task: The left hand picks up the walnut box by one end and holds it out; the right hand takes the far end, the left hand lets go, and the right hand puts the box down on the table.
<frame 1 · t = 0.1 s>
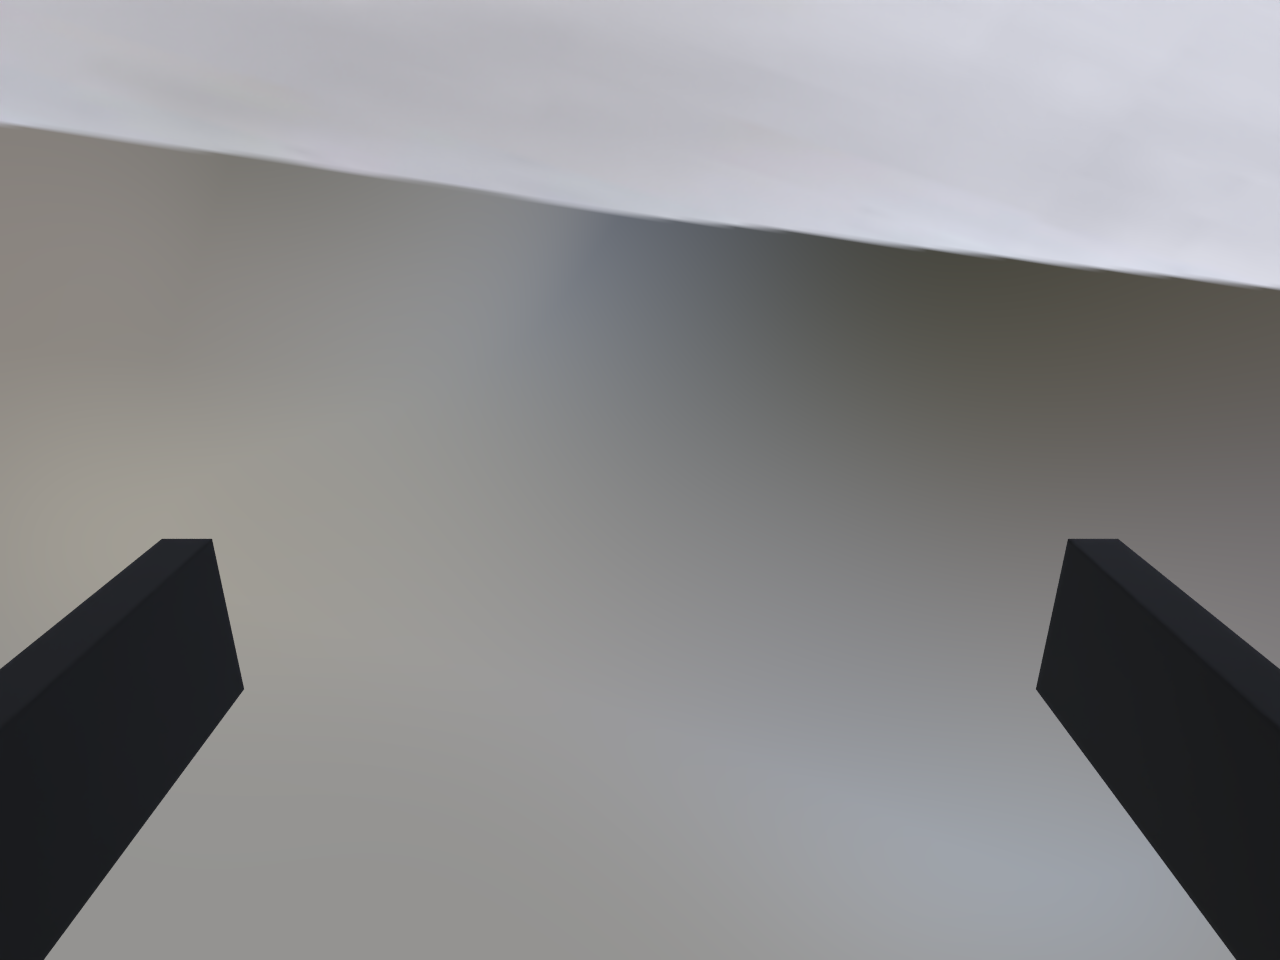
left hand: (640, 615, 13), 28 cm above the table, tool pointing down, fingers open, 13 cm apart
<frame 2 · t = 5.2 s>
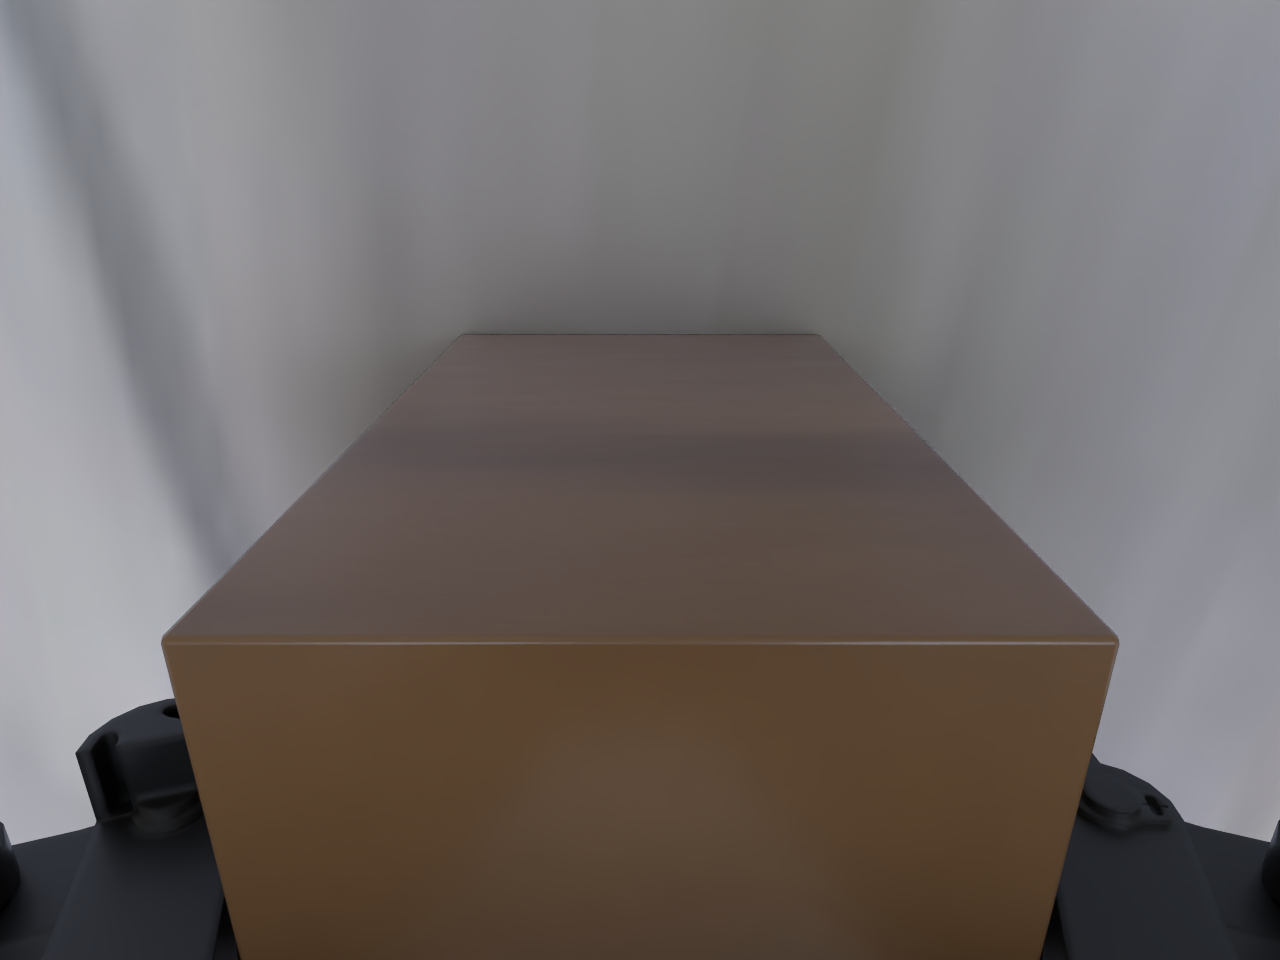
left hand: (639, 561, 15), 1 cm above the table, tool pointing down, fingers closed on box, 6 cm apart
box: (640, 887, 18), on the table, touching left hand
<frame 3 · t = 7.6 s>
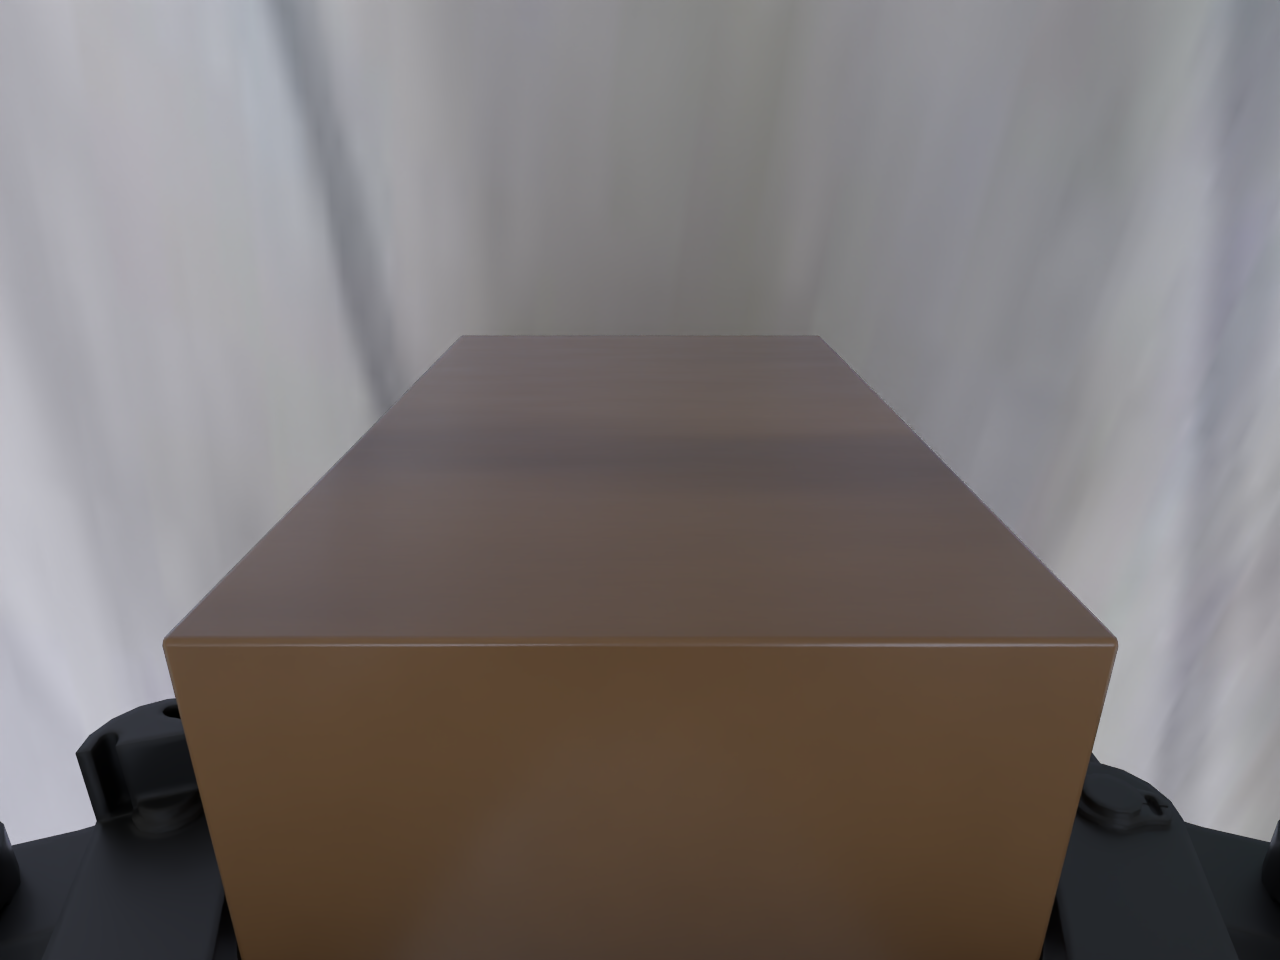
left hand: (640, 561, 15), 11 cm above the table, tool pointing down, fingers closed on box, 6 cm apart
box: (640, 887, 18), point 11 cm above the table, touching left hand
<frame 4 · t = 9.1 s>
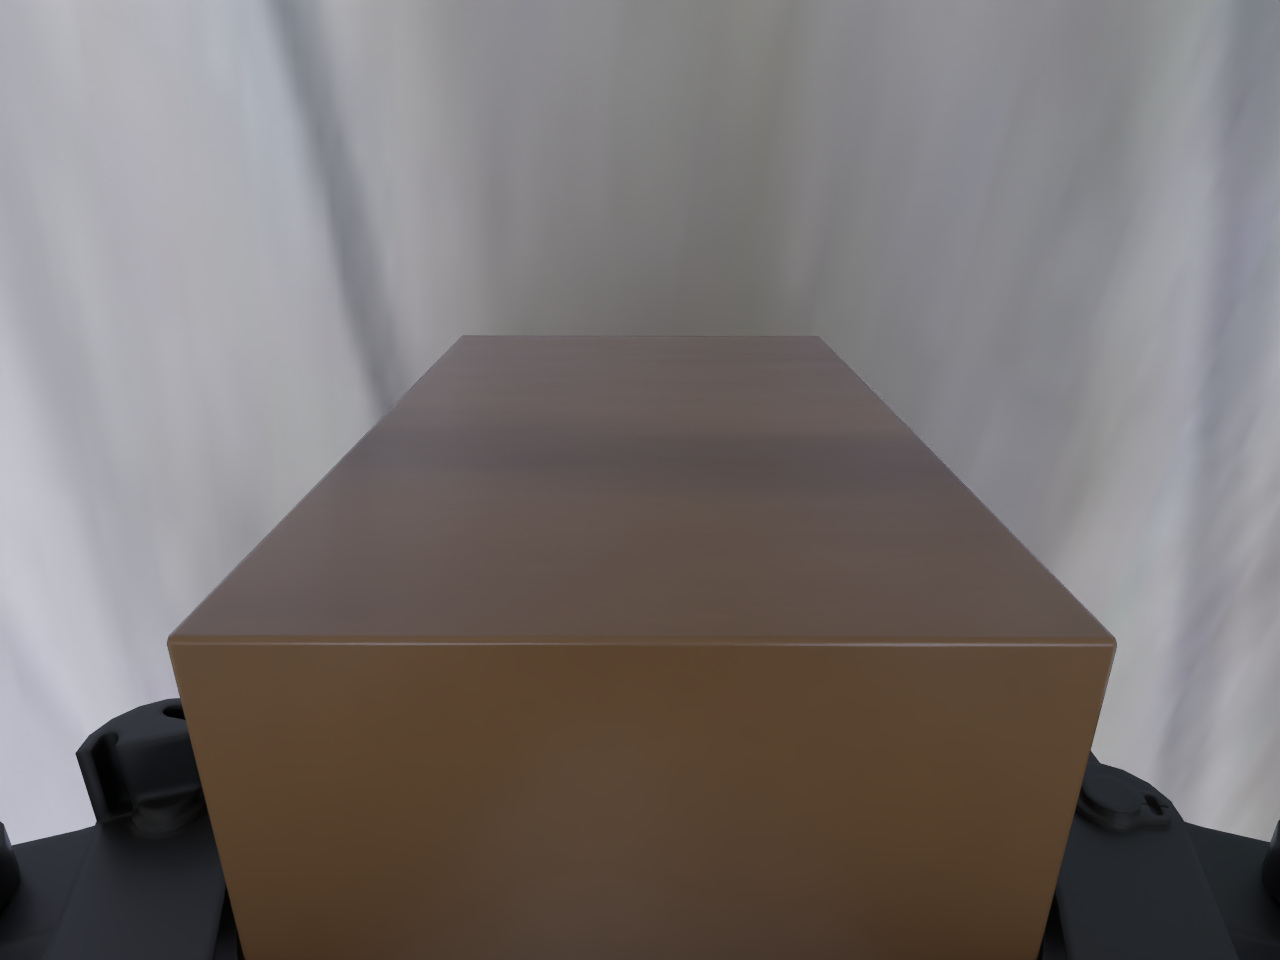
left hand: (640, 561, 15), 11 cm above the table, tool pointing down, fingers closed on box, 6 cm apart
box: (639, 886, 18), point 11 cm above the table, touching left hand, right hand
when the left hand's fingers open (11 cm above the table, at t = 10.1 s): box stays where it is, held by the right hand.
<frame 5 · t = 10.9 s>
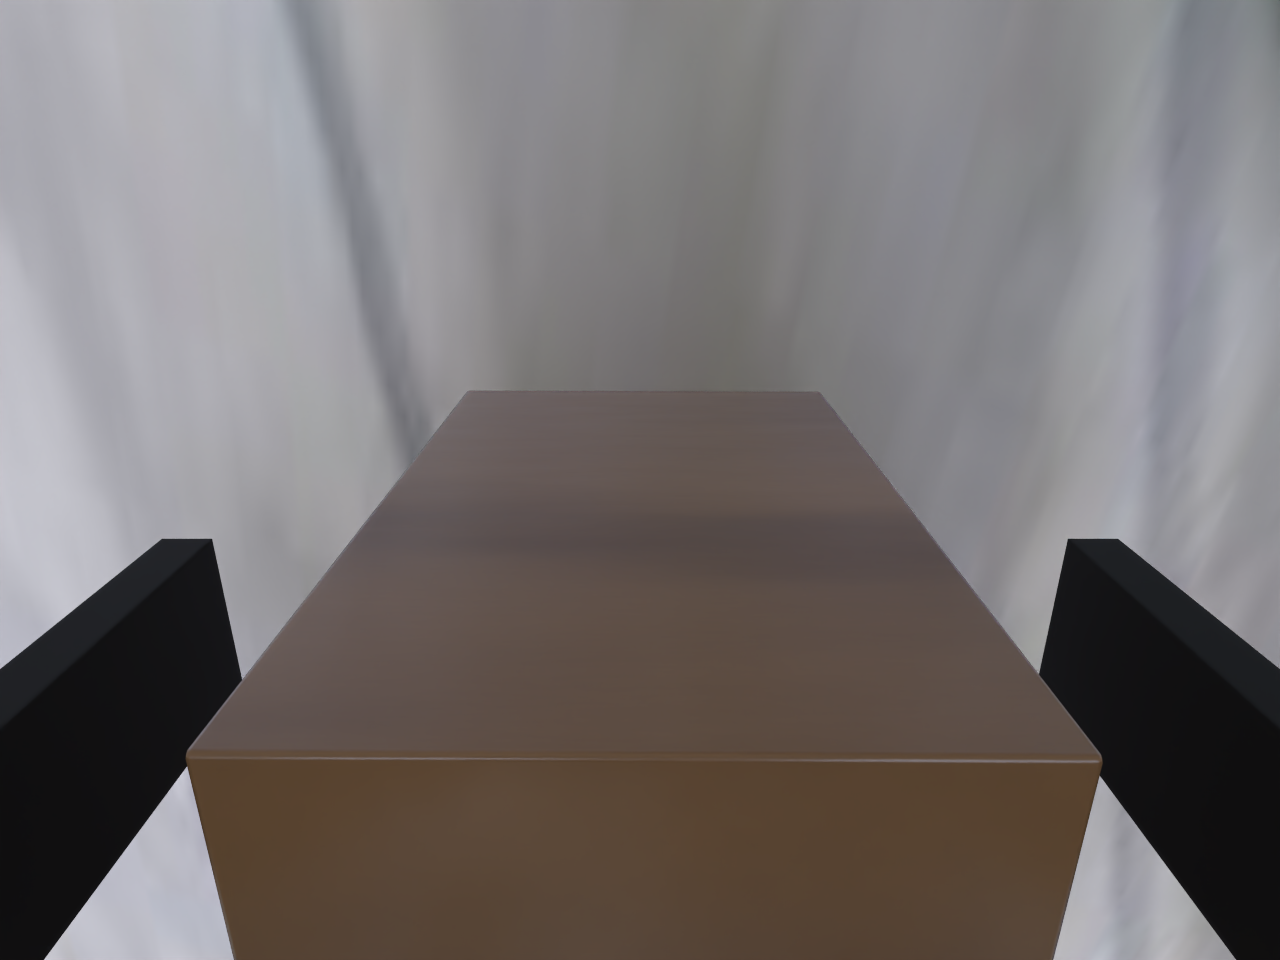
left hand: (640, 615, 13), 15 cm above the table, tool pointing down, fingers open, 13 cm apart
box: (641, 927, 18), point 13 cm above the table, touching right hand
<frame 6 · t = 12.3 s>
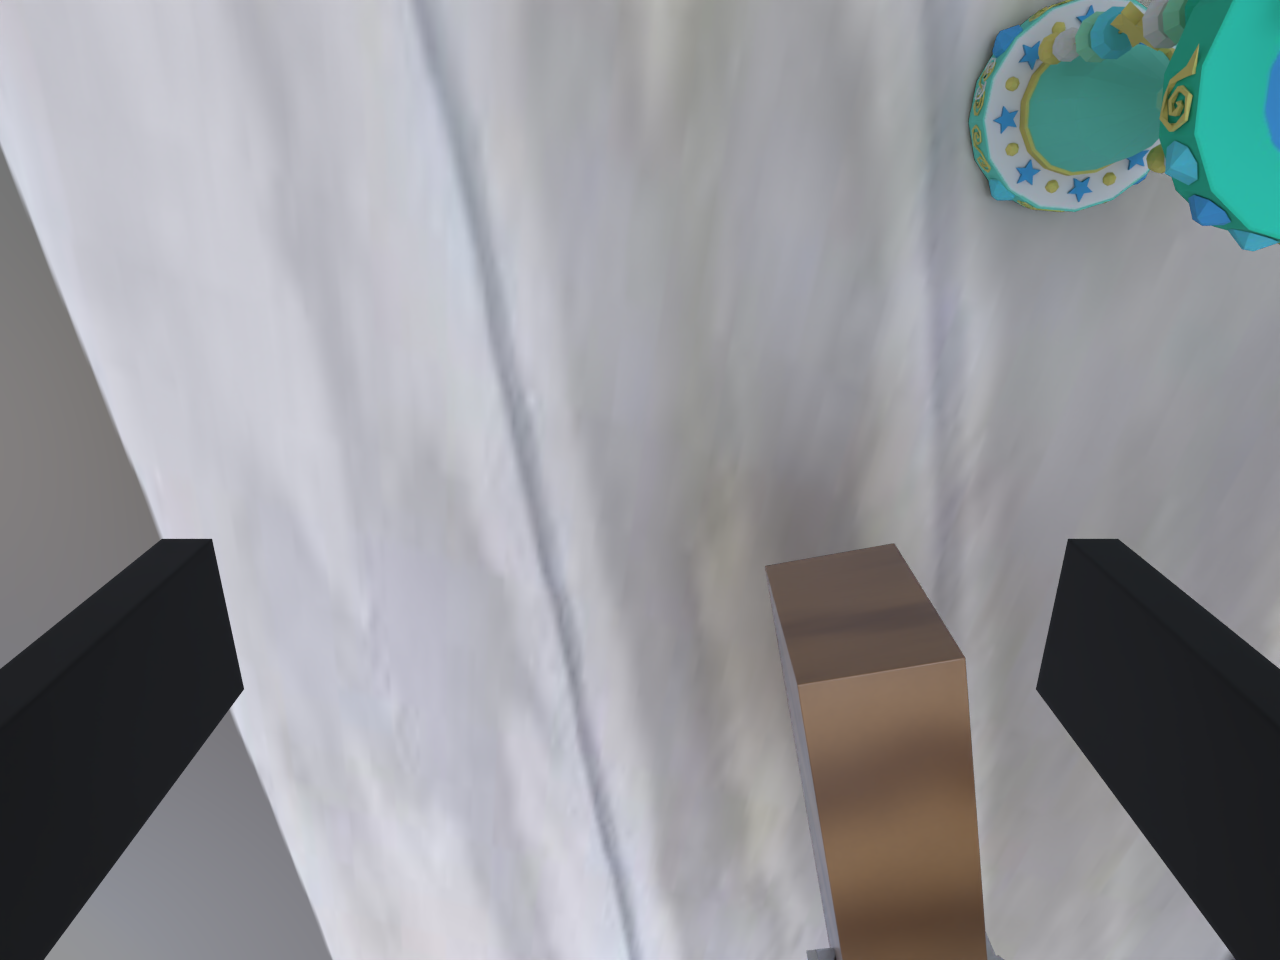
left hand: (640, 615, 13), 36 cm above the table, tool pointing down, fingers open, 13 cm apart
box: (857, 764, 42), point 13 cm above the table, touching right hand
decorative hourglass: (1062, 109, 43), on the table
when the right hand's fingers open (5 cm above the table, at t = 15.5 s): box drops 1 cm, on the table.
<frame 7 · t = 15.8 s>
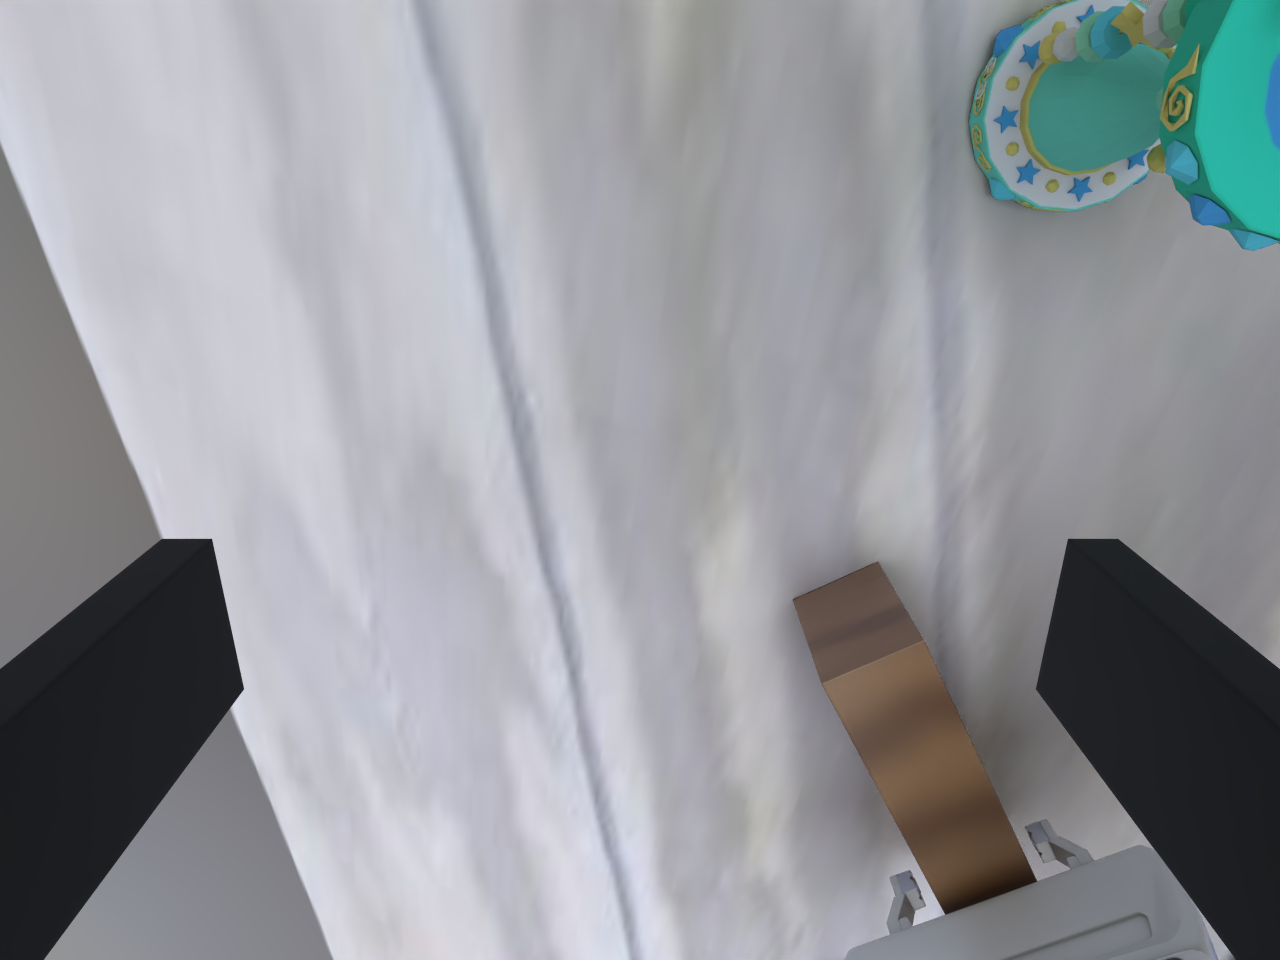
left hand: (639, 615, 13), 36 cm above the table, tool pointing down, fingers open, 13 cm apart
box: (903, 718, 57), on the table
decorative hourglass: (1062, 108, 43), on the table
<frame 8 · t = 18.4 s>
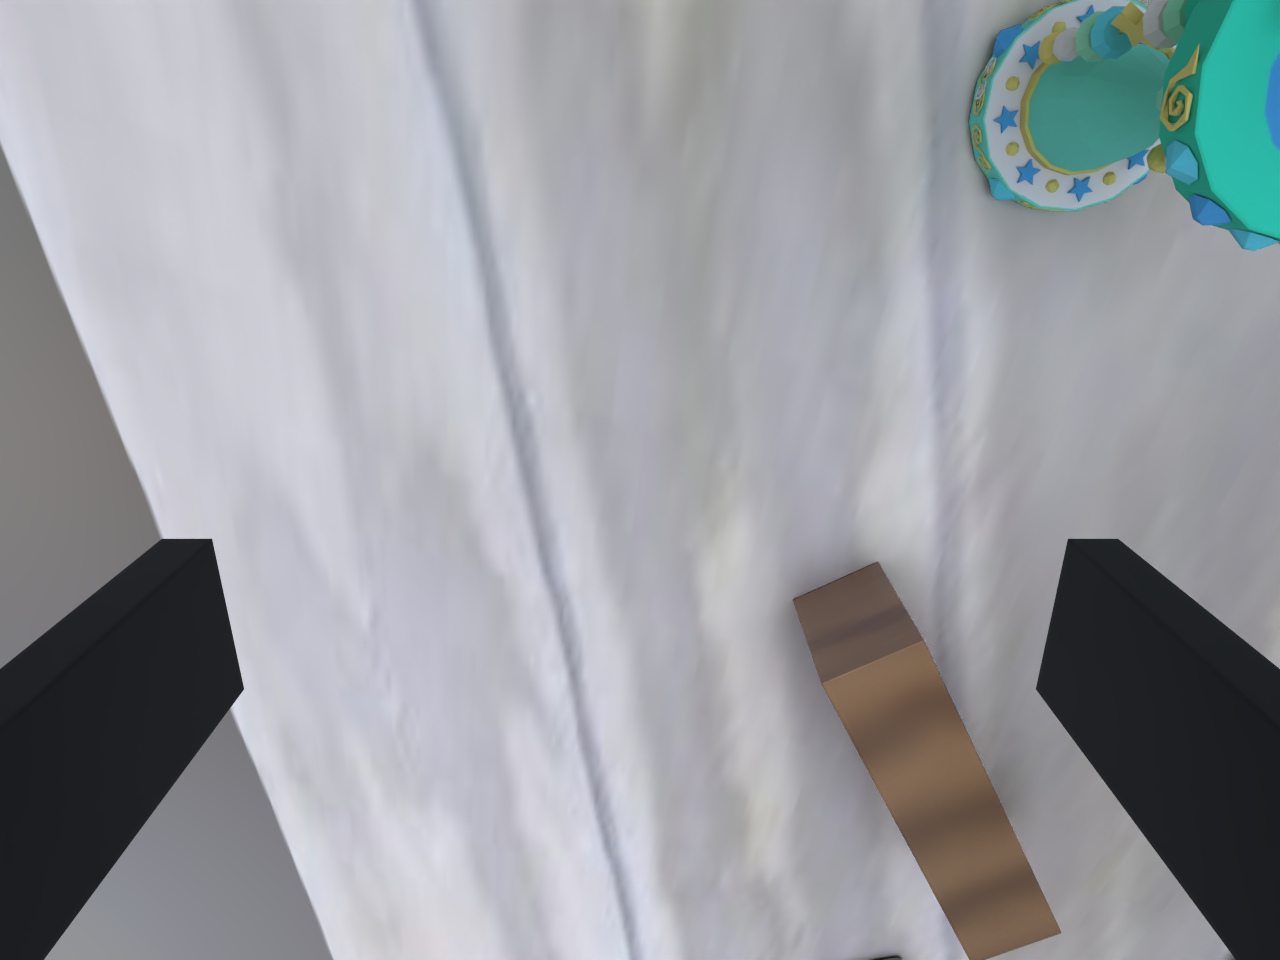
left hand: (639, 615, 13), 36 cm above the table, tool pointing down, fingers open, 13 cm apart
box: (903, 718, 57), on the table
decorative hourglass: (1062, 108, 43), on the table
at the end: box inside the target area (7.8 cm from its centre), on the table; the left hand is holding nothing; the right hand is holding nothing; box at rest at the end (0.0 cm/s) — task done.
